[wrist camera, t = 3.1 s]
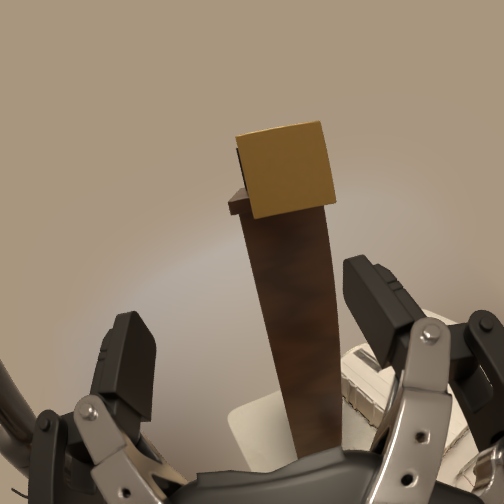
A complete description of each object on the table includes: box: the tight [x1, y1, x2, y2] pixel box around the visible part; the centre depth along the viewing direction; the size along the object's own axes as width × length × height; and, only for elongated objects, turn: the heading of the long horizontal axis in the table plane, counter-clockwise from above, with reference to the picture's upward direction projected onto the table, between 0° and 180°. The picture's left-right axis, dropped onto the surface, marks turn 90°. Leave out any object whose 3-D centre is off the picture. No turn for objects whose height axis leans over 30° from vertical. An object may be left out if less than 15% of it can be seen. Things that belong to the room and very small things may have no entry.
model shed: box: [341, 344, 469, 456], centre depth 32 cm, size 25×15×7 cm, turn 20°
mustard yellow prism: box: [236, 121, 336, 219], centre depth 18 cm, size 5×20×4 cm, turn 179°
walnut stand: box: [228, 188, 342, 459], centre depth 29 cm, size 7×13×36 cm, turn 179°
